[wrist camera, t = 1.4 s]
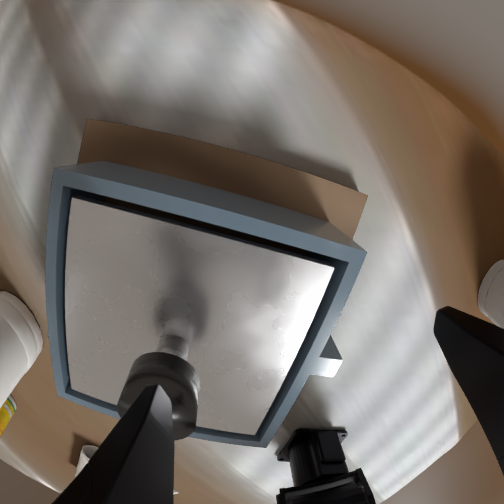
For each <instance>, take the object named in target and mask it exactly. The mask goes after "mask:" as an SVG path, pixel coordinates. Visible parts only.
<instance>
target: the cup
mask: <svg viewBox="0 0 504 504" xmlns="http://www.w3.org/2000/svg"><path fill="white" fill-rule="evenodd" d="M477 301H478V308H479V310H480V311H481V312H482V313H484V314H485V315H486V316H487V317H488V318H489V319H490V320H491V321H492V322H493V323H494V324H495V325H496V326H499V327H501V328H503V329H504V260H500V261H498V262H496V263H495V264H494V265H493V266H492V267H491V268H490V269H489V270H488V272H487V273H486V275H485V277H484V279H483V281H482V283H481V286H480V289H479V293H478V300H477Z"/></svg>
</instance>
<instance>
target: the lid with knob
mask: <svg viewBox="0 0 504 504" xmlns="http://www.w3.org/2000/svg"><path fill="white" fill-rule="evenodd" d="M333 271H334V266H333V265H332V264H331V263H328V262H325V261H321V260H318V259H314V258H310V257H307V256H303V255H300V254H296V253H292V252H289V251H285V250H281V249H278V248H274V247H271V246H267V245H263V244H260V243H256V242H252V241H249V240H245V239H241V238H238V237H234V236H230V235H226V234H223V233H219V232H215V231H212V230H208V229H204V228H200V227H197V226H193V225H189V224H185V223H182V222H178V221H174V220H170V219H167V218H163V217H159V216H155V215H151V214H148V213H144V212H140V211H136V210H132V209H128V208H125V207H121V206H117V205H113V204H109V203H105V202H101V201H98V200H94V199H90V198H86V197H82V196H75V197H72V200H71V208H70V216H69V226H68V236H67V250H66V269H65V320H66V340H67V353H68V364H69V373H70V381H71V388H72V389H73V390H76V391H78V392H81V393H84V394H86V395H89V396H91V397H94V398H97V399H100V400H103V401H105V402H108V403H111V404H114V405H117V411H118V414H119V416H120V418H122V416H123V415H124V414H125V413H126V411H127V410H128V409H129V407H130V406H131V405H132V403H133V402H134V401H135V399H136V398H137V397H138V396H139V394H140V393H141V392H142V390H143V389H144V388H145V387H146V386H147V385H152V384H159V385H160V386H161V387H162V389H163V390H164V391H165V393H166V394H167V396H168V397H169V399H170V401H171V405H172V419H173V433H174V440H179V439H183V438H185V437H188V436H189V435H191V434H192V433H193V431H194V430H195V428H196V426H199V427H204V428H210V429H215V430H221V431H228V432H235V433H242V434H250V435H255V434H256V432H257V430H258V428H259V426H260V425H261V423H262V421H263V419H264V417H265V416H266V414H267V412H268V410H269V408H270V406H271V404H272V402H273V401H274V399H275V397H276V395H277V393H278V391H279V389H280V387H281V385H282V383H283V381H284V379H285V377H286V375H287V373H288V371H289V369H290V367H291V365H292V363H293V361H294V359H295V357H296V355H297V353H298V350H299V348H300V346H301V344H302V342H303V340H304V338H305V335H306V333H307V331H308V329H309V327H310V325H311V322H312V320H313V318H314V316H315V313H316V311H317V309H318V306H319V304H320V302H321V299H322V297H323V295H324V292H325V290H326V288H327V285H328V283H329V280H330V278H331V276H332V273H333Z"/></svg>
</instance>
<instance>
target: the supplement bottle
mask: <svg viewBox="0 0 504 504" xmlns="http://www.w3.org/2000/svg"><path fill="white" fill-rule="evenodd" d="M15 410H16V403H15V401H14V400H13V398H12V396H11V395H9V396H8V398H7V399H6V401H5V402H4V404H3V405H2V407H1V408H0V436H1V434H2V433H3V431H4V429H5V427H6V425H7V424H8V422H9V420H10V419H11V417H12V415H13V413H14V412H15Z"/></svg>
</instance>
